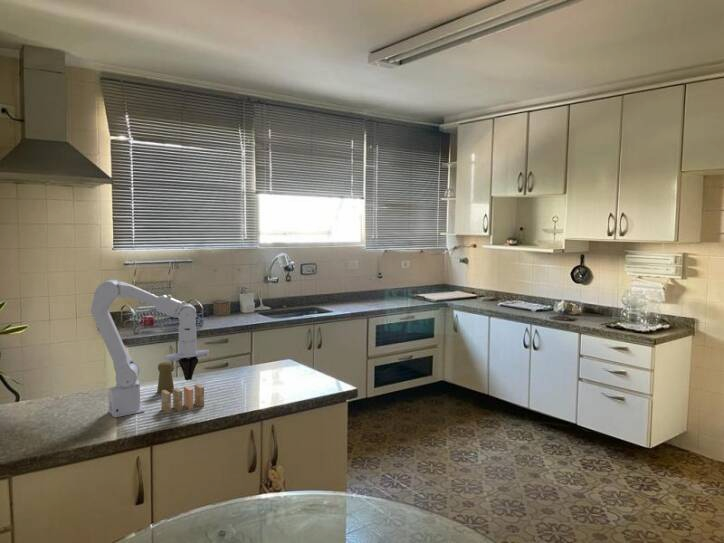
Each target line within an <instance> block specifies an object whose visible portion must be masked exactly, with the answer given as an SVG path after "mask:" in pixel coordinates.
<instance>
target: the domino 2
mask: <svg viewBox="0 0 724 543" xmlns="http://www.w3.org/2000/svg"><path fill="white" fill-rule="evenodd" d="M183 406H185V407H186V406H187V407H188V408H187V407H186V408H187V409H189V410H191V409H190V408H192V409H194V388H192V387H190V386H189V385H186V386H183Z"/></svg>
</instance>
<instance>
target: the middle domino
mask: <svg viewBox="0 0 724 543" xmlns="http://www.w3.org/2000/svg"><path fill="white" fill-rule="evenodd" d="M173 407H174V408H173ZM172 408H173V409H175V410H176V411H177V410H178V412H181V410H182V411H183V391H182V390H181V389H179V388H178V387H174V388H173V393H172Z"/></svg>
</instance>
